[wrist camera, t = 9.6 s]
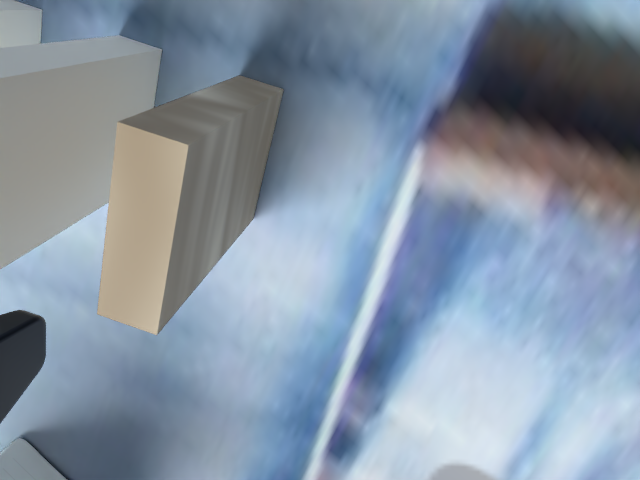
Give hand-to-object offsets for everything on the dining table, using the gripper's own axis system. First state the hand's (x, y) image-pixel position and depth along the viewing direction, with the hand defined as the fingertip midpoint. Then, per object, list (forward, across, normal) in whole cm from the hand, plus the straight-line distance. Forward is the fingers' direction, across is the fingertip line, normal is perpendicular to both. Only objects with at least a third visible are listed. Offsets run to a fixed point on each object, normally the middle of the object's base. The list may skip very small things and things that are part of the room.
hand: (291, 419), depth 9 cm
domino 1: (+12, +9, 0) cm, 15 cm away
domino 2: (+12, +5, 0) cm, 13 cm away
